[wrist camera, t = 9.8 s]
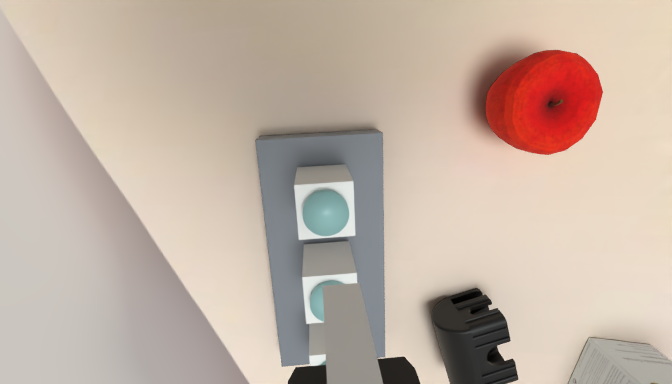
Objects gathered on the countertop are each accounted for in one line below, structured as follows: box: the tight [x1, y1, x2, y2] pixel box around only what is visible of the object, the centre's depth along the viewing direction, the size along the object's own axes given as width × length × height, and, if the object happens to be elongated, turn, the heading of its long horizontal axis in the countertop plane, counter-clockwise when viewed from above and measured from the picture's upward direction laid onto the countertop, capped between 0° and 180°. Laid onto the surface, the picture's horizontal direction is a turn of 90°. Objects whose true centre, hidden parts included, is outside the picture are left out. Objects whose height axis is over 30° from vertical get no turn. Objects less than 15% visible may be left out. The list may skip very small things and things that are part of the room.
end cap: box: [432, 288, 518, 384], centre depth 40 cm, size 10×7×7 cm
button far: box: [309, 322, 326, 366], centre depth 35 cm, size 5×5×7 cm
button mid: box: [302, 241, 357, 324], centre depth 32 cm, size 5×5×7 cm
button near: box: [294, 164, 355, 240], centre depth 30 cm, size 5×5×7 cm
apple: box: [486, 50, 603, 155], centre depth 32 cm, size 9×9×8 cm
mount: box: [255, 129, 385, 367], centre depth 35 cm, size 26×12×8 cm, turn 3°
